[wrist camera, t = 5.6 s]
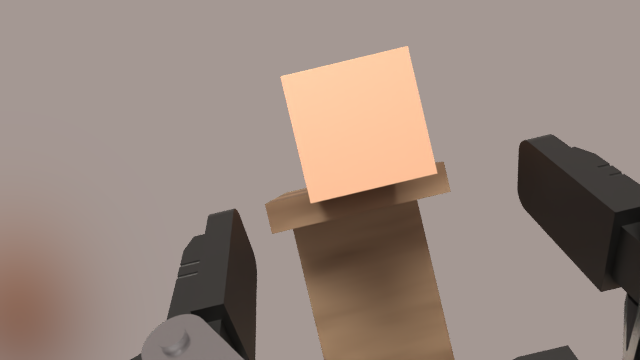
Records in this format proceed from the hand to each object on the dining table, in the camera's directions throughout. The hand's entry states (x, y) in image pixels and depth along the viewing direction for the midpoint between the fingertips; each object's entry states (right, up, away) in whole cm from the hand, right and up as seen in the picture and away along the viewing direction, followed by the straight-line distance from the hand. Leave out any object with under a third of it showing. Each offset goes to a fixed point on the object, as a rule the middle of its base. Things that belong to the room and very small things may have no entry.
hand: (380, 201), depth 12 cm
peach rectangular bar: (0, 0, +12) cm, 12 cm away
